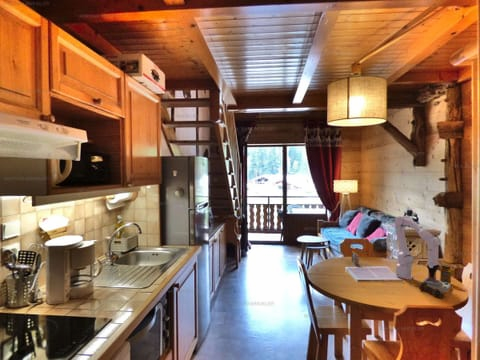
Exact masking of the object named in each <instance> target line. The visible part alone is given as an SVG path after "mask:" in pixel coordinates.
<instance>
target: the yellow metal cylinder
mask: <svg viewBox="0 0 480 360" xmlns="http://www.w3.org/2000/svg"><path fill="white" fill-rule="evenodd" d="M440 265H441V266H440V273H439V275H440V277H439V279H440V281H442V282H448V283H449V284H451V283H452V282H451V280H452V270H451V266H450V265H448V264H440ZM451 285H452V284H451Z"/></svg>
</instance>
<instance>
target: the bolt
mask: <svg viewBox="0 0 480 360" xmlns="http://www.w3.org/2000/svg"><path fill="white" fill-rule="evenodd" d="M418 288H419V290H420V291H425V292H427V293H430V294H432V296H433V297H435V298H440V299H443V298H444V297H445V293H444V292H441V291H440V290H439V289H433V288H431V287H429V286H427V283H425V282H423V281H422V282H420V283H419V285H418Z"/></svg>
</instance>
